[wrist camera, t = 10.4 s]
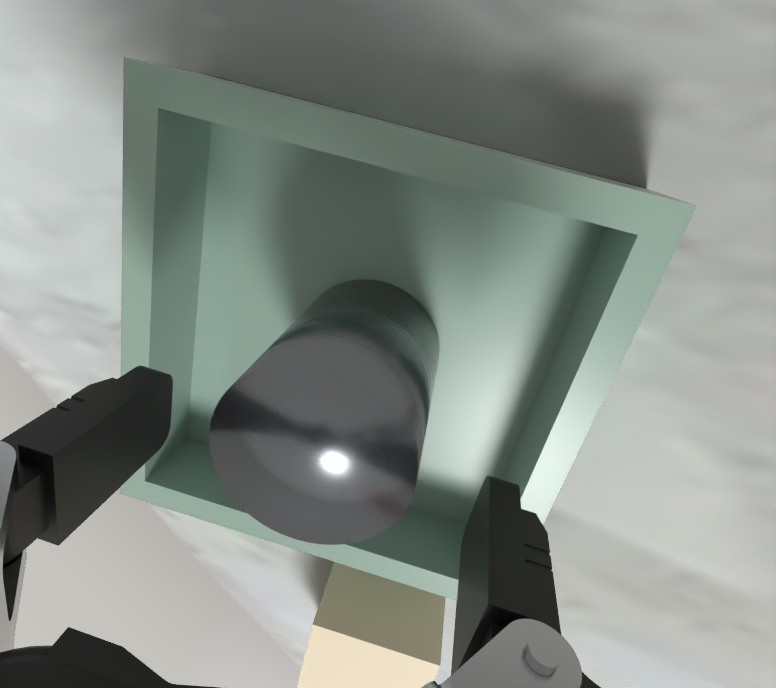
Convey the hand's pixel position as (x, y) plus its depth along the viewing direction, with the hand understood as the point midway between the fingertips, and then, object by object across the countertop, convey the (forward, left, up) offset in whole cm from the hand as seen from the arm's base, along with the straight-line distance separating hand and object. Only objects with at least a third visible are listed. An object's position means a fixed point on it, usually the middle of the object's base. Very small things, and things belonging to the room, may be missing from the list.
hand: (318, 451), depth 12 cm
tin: (0, 0, -7) cm, 7 cm away
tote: (0, 0, -8) cm, 8 cm away
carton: (-3, +13, -8) cm, 16 cm away
